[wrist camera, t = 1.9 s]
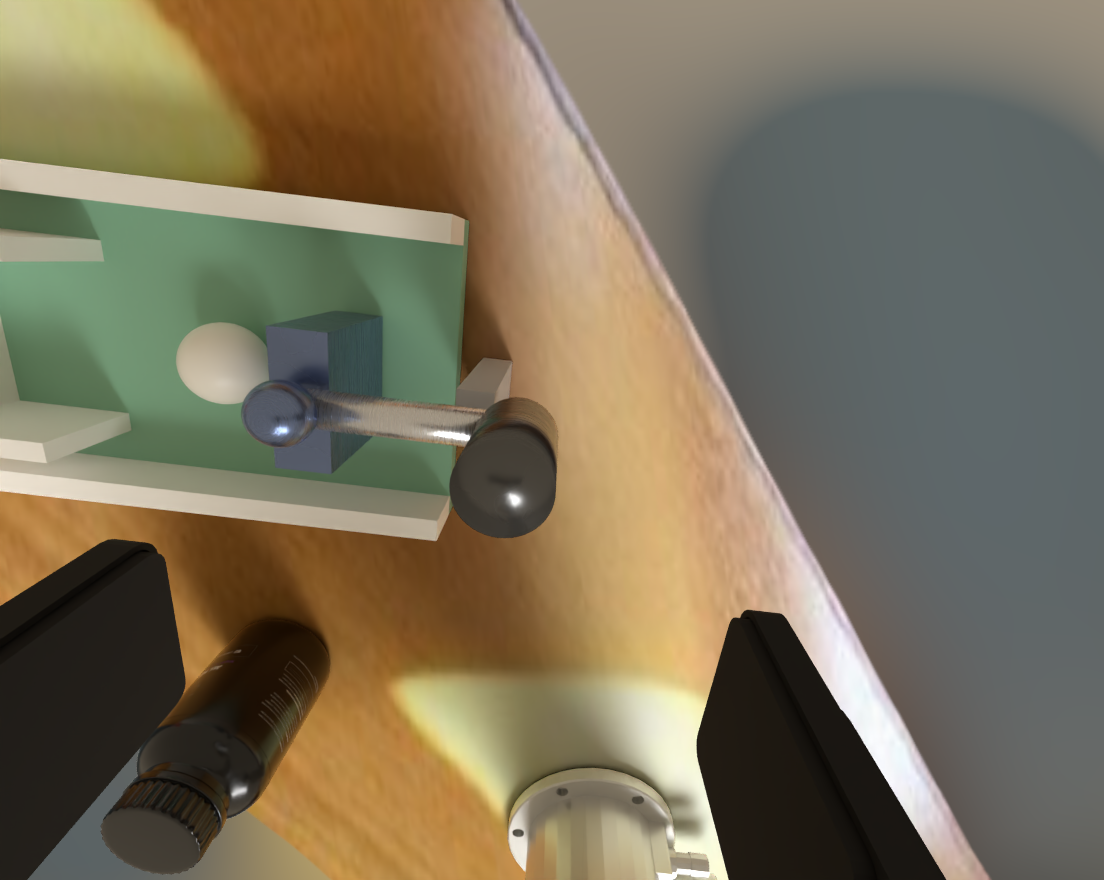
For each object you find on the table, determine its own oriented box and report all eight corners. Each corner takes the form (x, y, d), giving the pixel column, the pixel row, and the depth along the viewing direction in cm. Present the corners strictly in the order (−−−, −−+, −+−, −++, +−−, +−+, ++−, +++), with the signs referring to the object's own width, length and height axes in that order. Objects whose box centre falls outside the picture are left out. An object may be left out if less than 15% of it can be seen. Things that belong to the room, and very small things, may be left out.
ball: (284, 322, 27) (238, 333, 23) (289, 397, 28) (246, 418, 24) (207, 313, 27) (148, 322, 23) (215, 388, 28) (160, 408, 24)
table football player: (567, 338, 26) (567, 400, 15) (553, 448, 28) (544, 581, 17) (333, 310, 26) (143, 351, 14) (336, 422, 28) (171, 539, 16)
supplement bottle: (237, 604, 34) (74, 774, 23) (339, 628, 35) (229, 808, 23) (230, 683, 36) (78, 874, 25) (326, 705, 37) (220, 902, 26)
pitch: (524, 227, 26) (509, 216, 19) (499, 510, 31) (479, 581, 24) (-31, 159, 26) (-249, 123, 19) (38, 457, 31) (-113, 513, 24)
